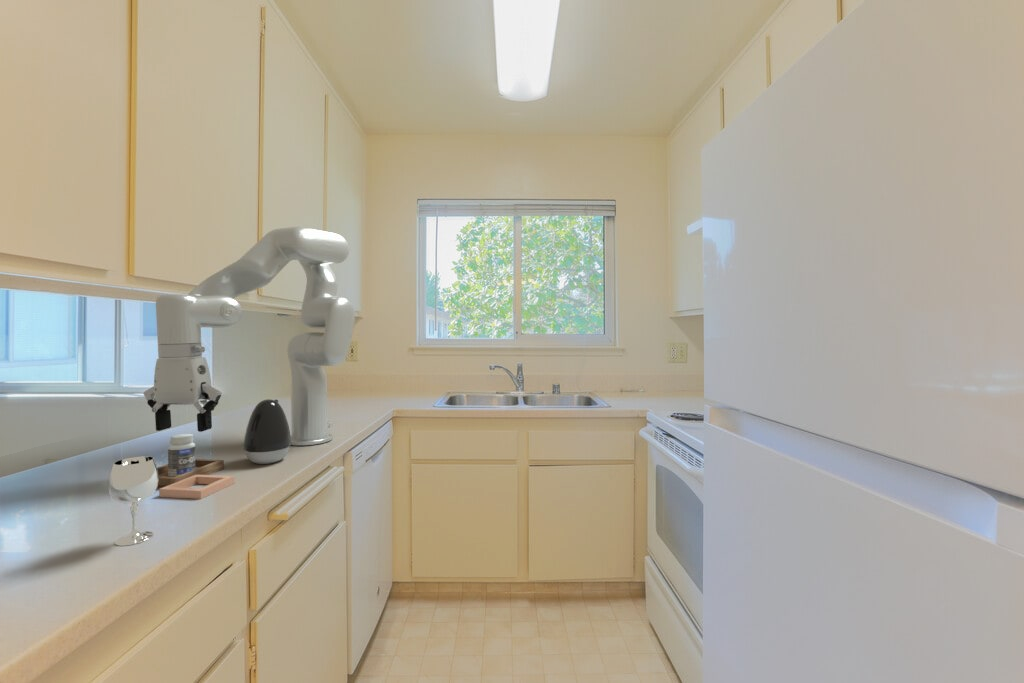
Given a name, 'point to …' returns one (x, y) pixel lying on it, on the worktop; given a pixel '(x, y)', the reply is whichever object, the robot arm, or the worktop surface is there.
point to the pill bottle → (181, 455)
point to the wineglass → (133, 490)
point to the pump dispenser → (267, 433)
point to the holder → (182, 491)
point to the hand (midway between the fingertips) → (184, 429)
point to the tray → (200, 469)
